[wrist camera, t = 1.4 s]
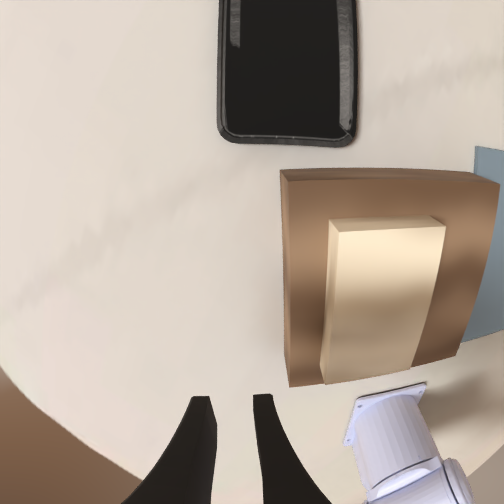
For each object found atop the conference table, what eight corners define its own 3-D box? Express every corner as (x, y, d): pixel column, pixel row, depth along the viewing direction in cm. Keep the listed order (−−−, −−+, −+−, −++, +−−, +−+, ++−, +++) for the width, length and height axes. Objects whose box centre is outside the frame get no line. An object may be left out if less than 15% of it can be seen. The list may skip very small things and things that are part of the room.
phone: (349, -62, 10) (355, 149, 16) (344, -55, 11) (348, 147, 17) (221, -73, 10) (214, 143, 16) (222, -65, 11) (216, 142, 17)
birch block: (400, 352, 19) (409, 369, 17) (319, 365, 19) (324, 384, 17) (428, 215, 15) (445, 226, 13) (328, 219, 15) (338, 232, 13)
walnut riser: (437, 330, 23) (455, 355, 20) (284, 354, 23) (289, 387, 20) (469, 172, 17) (500, 184, 14) (279, 169, 17) (287, 181, 14)
